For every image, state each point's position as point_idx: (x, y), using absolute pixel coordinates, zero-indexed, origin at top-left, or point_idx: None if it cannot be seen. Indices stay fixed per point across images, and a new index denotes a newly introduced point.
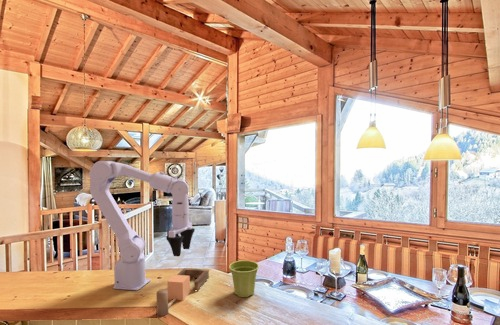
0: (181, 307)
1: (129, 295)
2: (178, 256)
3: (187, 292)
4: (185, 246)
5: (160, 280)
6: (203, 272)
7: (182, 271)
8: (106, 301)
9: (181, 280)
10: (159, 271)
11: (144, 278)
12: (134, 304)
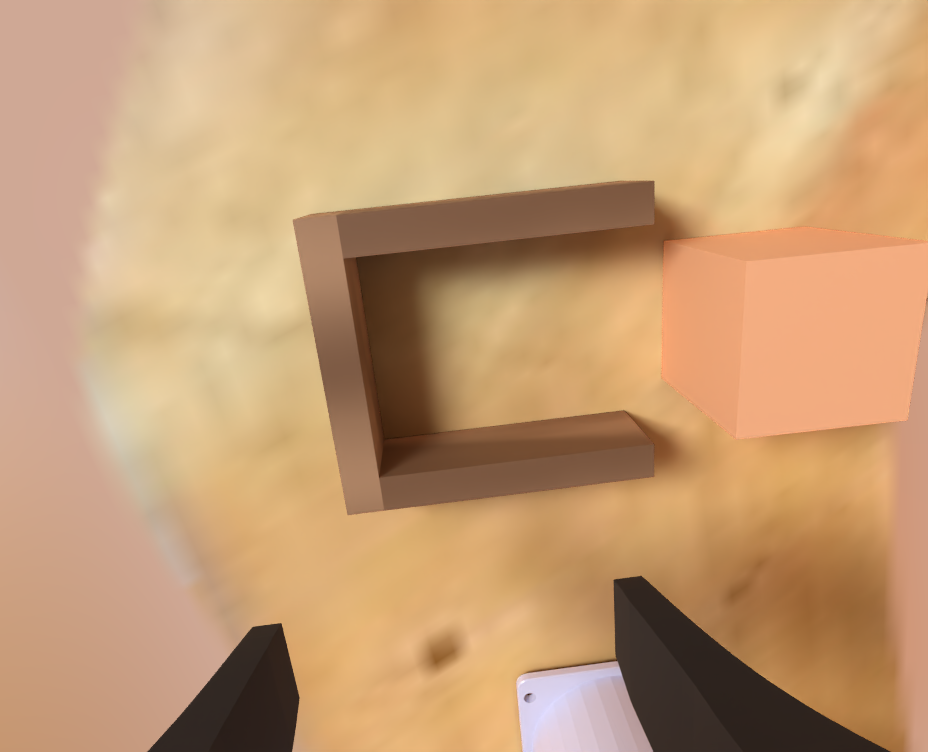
0: (914, 176)
1: (760, 654)
2: (647, 583)
3: (731, 237)
4: (283, 705)
5: (491, 612)
6: (396, 242)
7: (435, 486)
8: (848, 720)
9: (881, 285)
10: (331, 721)
11: (609, 710)
12: (879, 543)
